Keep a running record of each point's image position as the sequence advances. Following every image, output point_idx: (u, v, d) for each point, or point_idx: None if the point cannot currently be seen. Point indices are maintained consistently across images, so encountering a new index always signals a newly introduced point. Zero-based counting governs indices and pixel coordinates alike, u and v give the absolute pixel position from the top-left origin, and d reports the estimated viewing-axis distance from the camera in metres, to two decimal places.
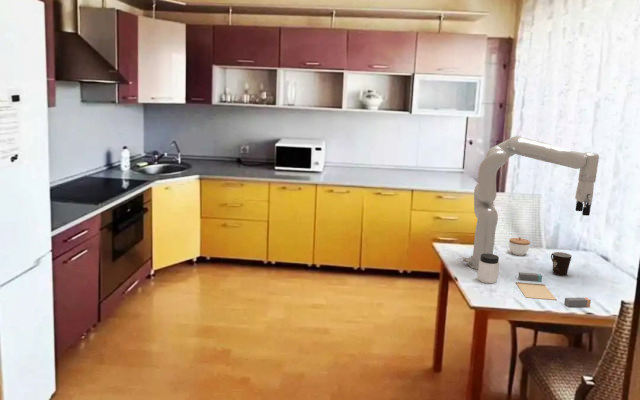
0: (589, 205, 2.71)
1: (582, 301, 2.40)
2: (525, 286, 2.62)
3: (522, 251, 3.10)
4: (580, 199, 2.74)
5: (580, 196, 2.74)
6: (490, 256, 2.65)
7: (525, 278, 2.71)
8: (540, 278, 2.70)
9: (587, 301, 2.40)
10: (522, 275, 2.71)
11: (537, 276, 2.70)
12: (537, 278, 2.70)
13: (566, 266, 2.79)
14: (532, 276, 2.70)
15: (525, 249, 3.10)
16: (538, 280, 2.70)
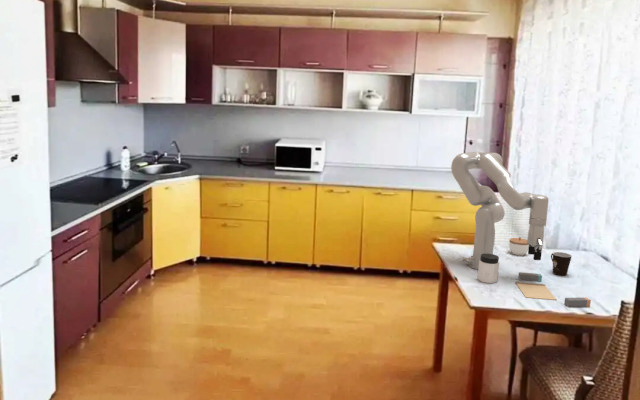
0: (540, 250, 2.62)
1: (582, 301, 2.40)
2: (525, 286, 2.62)
3: (522, 251, 3.10)
4: (531, 243, 2.65)
5: (531, 240, 2.66)
6: (490, 256, 2.65)
7: (525, 278, 2.71)
8: (540, 278, 2.70)
9: (587, 301, 2.40)
10: (522, 275, 2.71)
11: (537, 276, 2.70)
12: (537, 278, 2.70)
13: (566, 266, 2.79)
14: (532, 276, 2.70)
15: (525, 249, 3.10)
16: (538, 280, 2.70)
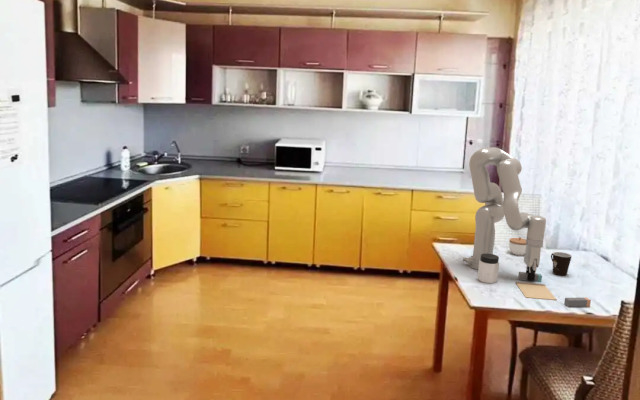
0: (533, 271, 2.67)
1: (582, 301, 2.40)
2: (525, 286, 2.62)
3: (522, 251, 3.10)
4: (527, 263, 2.68)
5: (527, 260, 2.68)
6: (490, 256, 2.65)
7: (525, 278, 2.71)
8: (540, 278, 2.70)
9: (587, 301, 2.40)
10: (522, 275, 2.71)
11: (537, 276, 2.70)
12: (537, 278, 2.70)
13: (566, 266, 2.79)
14: None
15: None
16: (538, 280, 2.70)
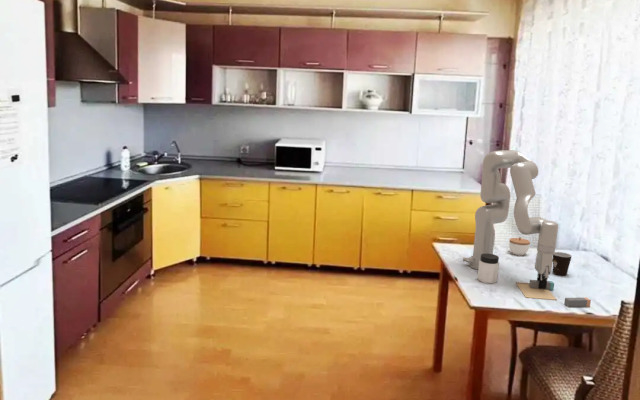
0: (545, 278, 2.56)
1: (582, 301, 2.40)
2: (525, 286, 2.62)
3: (522, 251, 3.10)
4: (539, 270, 2.56)
5: (539, 267, 2.56)
6: (490, 256, 2.65)
7: (536, 286, 2.59)
8: (552, 286, 2.58)
9: (587, 301, 2.40)
10: (533, 283, 2.59)
11: (549, 284, 2.58)
12: (549, 286, 2.59)
13: (566, 266, 2.79)
14: None
15: (525, 249, 3.10)
16: (550, 287, 2.59)
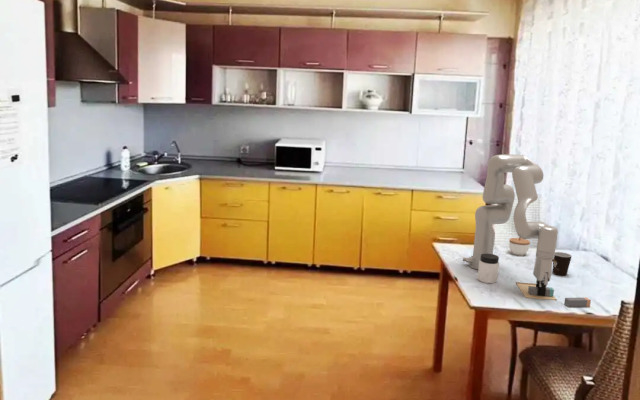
0: (544, 285, 2.47)
1: (582, 301, 2.40)
2: (525, 286, 2.62)
3: (522, 251, 3.10)
4: (537, 277, 2.47)
5: (537, 274, 2.47)
6: (490, 256, 2.65)
7: (535, 293, 2.50)
8: (552, 292, 2.50)
9: (587, 301, 2.40)
10: (532, 290, 2.50)
11: (548, 290, 2.49)
12: (548, 292, 2.50)
13: (566, 266, 2.79)
14: None
15: (525, 249, 3.10)
16: (549, 294, 2.50)
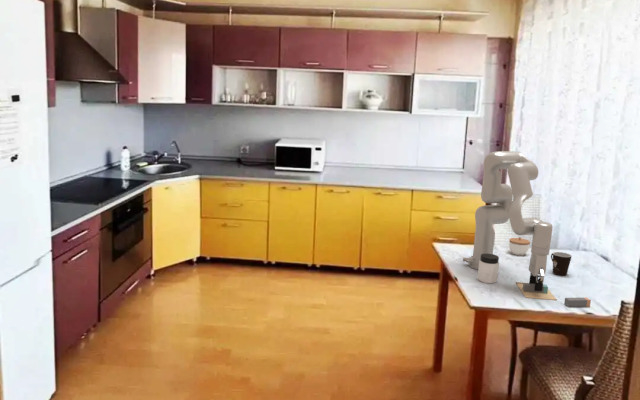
0: (541, 281, 2.48)
1: (582, 301, 2.40)
2: None
3: (522, 251, 3.10)
4: (532, 272, 2.51)
5: (533, 269, 2.51)
6: (490, 256, 2.65)
7: (530, 289, 2.54)
8: (546, 289, 2.54)
9: (587, 301, 2.40)
10: (527, 286, 2.54)
11: (543, 287, 2.53)
12: (543, 289, 2.54)
13: (566, 266, 2.79)
14: None
15: (525, 249, 3.10)
16: (543, 291, 2.54)
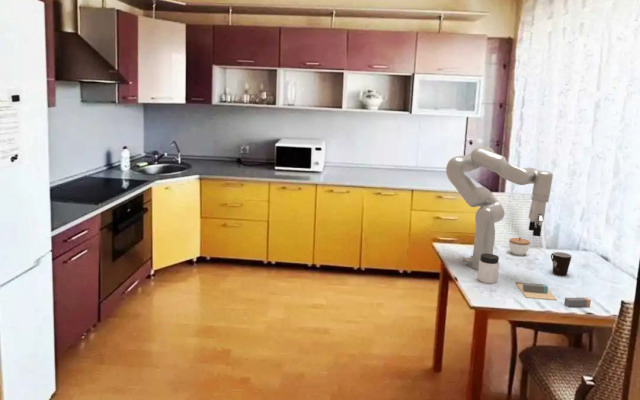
0: (539, 226, 2.60)
1: (582, 301, 2.40)
2: None
3: (522, 251, 3.10)
4: (531, 219, 2.64)
5: (532, 215, 2.64)
6: (490, 256, 2.65)
7: (530, 289, 2.54)
8: (546, 289, 2.54)
9: (587, 301, 2.40)
10: (527, 286, 2.54)
11: (543, 287, 2.53)
12: (543, 289, 2.54)
13: (566, 266, 2.79)
14: (537, 287, 2.54)
15: (525, 249, 3.10)
16: (543, 291, 2.54)
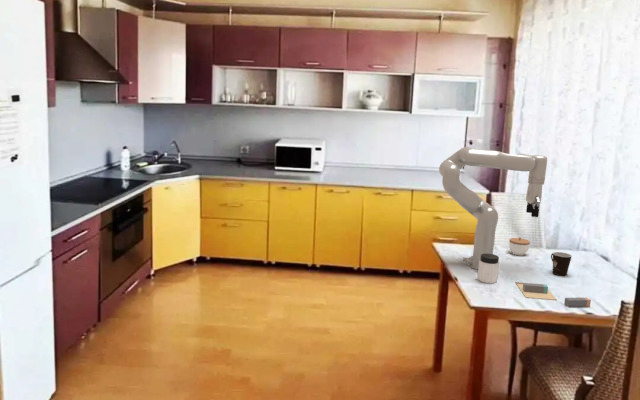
0: (537, 207, 2.75)
1: (582, 301, 2.40)
2: None
3: (522, 251, 3.10)
4: (529, 201, 2.79)
5: (529, 198, 2.79)
6: (490, 256, 2.65)
7: (530, 289, 2.54)
8: (546, 289, 2.54)
9: (587, 301, 2.40)
10: (527, 286, 2.54)
11: (543, 287, 2.53)
12: (543, 289, 2.54)
13: (566, 266, 2.79)
14: (537, 287, 2.54)
15: (525, 249, 3.10)
16: (543, 291, 2.54)
